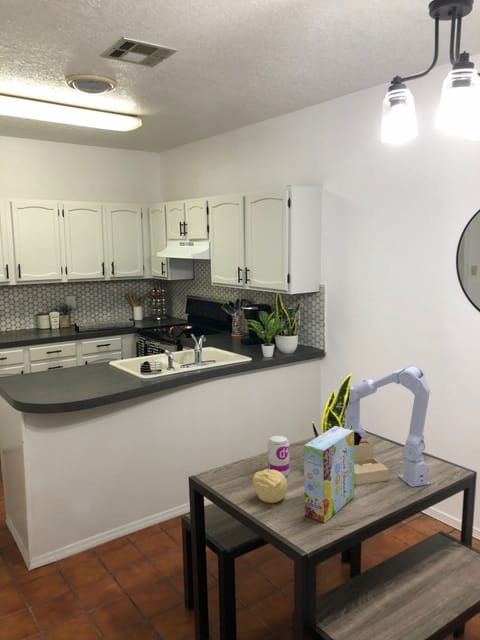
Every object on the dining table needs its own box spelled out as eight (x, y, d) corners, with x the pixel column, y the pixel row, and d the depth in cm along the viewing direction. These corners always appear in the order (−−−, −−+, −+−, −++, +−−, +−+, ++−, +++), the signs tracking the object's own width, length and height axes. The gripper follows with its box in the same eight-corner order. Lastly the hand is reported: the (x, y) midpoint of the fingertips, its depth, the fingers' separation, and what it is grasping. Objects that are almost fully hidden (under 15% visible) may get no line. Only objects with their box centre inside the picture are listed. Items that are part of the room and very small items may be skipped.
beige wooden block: (373, 442, 206) (367, 438, 211) (342, 446, 203) (337, 442, 208) (373, 457, 207) (367, 452, 212) (342, 461, 204) (337, 456, 208)
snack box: (333, 490, 189) (334, 424, 185) (355, 498, 184) (356, 430, 180) (302, 515, 173) (302, 443, 168) (324, 524, 167) (325, 450, 163)
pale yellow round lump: (248, 499, 184) (247, 471, 182) (268, 487, 192) (268, 460, 191) (273, 510, 176) (273, 481, 174) (293, 497, 185) (293, 469, 183)
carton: (388, 480, 197) (389, 469, 196) (356, 485, 193) (356, 474, 192) (373, 467, 208) (373, 456, 207) (341, 471, 204) (342, 461, 204)
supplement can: (292, 476, 201) (292, 440, 198) (273, 480, 198) (273, 444, 195) (283, 468, 208) (283, 433, 206) (265, 471, 205) (264, 436, 203)
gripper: (372, 419, 203) (371, 451, 205) (349, 409, 216) (349, 439, 218) (357, 422, 200) (357, 455, 202) (336, 411, 213) (335, 442, 215)
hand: (352, 447), depth 210 cm, fingers open, 4 cm apart
